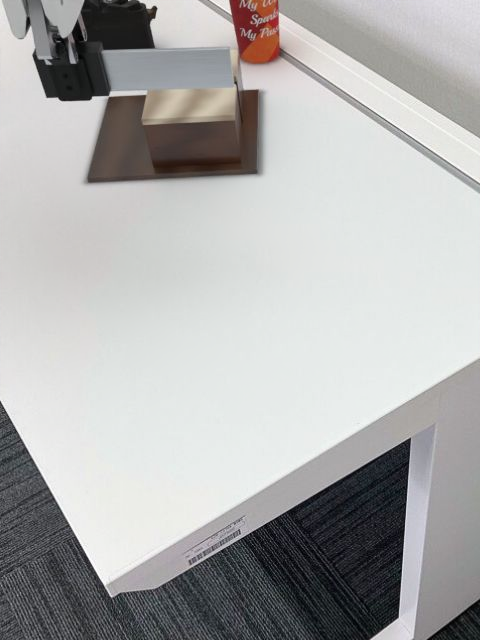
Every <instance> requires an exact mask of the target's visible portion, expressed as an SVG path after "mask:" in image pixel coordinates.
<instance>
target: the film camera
mask: <svg viewBox="0 0 480 640" xmlns="http://www.w3.org/2000/svg"><path fill="white" fill-rule="evenodd" d="M80 12H81V16H82V19H83V23H84V26H85V30H86V34H87V41H82V42H102V46H103V50H127V49H156V44H155V41H154V35H153V32H152V27H151V23H152V22H153V20H156V18H157V13H158V7H157V5H153V6H152V7H151V8H147V4H146V3H144V2H141V1H140V0H84V3H83V6H82V8H81V11H80ZM50 27H51V26H50ZM53 42H54V43H61V42H56V40H55V39H53Z"/></svg>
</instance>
